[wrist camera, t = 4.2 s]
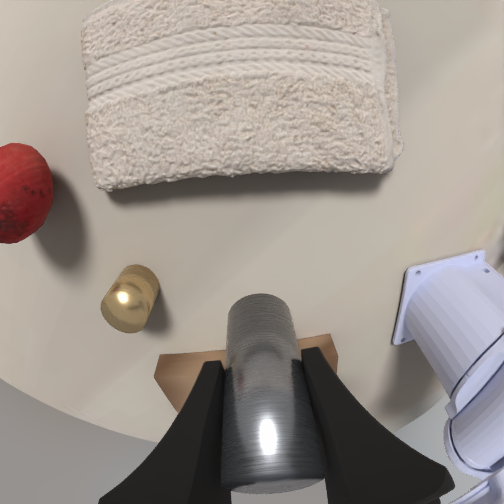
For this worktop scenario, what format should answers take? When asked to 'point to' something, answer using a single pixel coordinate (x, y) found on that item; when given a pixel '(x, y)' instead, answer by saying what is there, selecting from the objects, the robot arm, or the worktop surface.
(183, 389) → the walnut hole plate
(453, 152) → the worktop surface
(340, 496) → the robot arm
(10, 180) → the onion
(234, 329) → the long steel pin
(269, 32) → the washcloth
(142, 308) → the short brass pin
